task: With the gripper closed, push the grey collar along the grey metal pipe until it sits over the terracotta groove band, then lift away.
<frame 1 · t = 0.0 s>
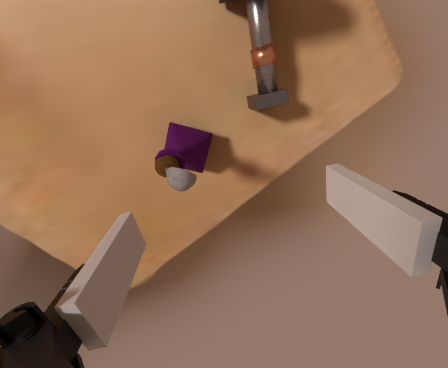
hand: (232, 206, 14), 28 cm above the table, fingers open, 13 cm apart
pipe stand: (252, 33, 34), on the table
perfume bottle: (188, 144, 40), on the table
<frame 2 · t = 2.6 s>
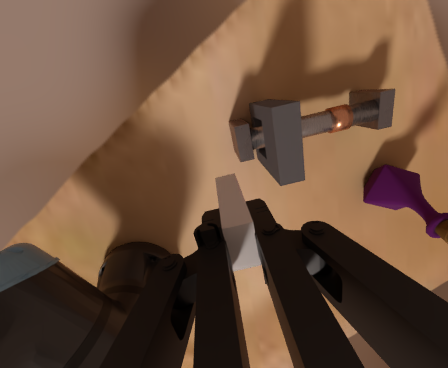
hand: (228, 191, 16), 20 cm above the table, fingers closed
pipe stand: (296, 121, 35), on the table
collar: (273, 137, 29), point 7 cm above the table, slide at 0.0 cm
perfume bottle: (376, 181, 41), on the table
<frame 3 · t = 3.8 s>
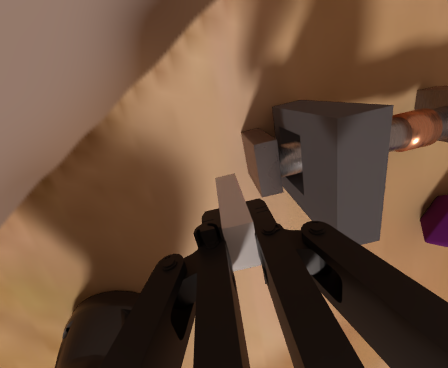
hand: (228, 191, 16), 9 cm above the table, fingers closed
pipe stand: (337, 131, 24), on the table
collar: (315, 160, 18), point 7 cm above the table, slide at 0.0 cm
perfume bottle: (438, 210, 30), on the table
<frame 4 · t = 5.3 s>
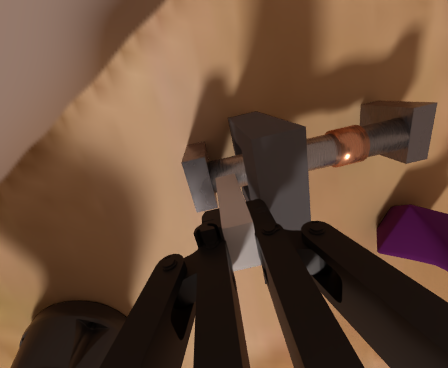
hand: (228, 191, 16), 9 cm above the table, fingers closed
pipe stand: (284, 144, 25), on the table
collar: (262, 173, 18), point 7 cm above the table, slide at 1.5 cm, touching gripper
perfume bottle: (394, 220, 31), on the table
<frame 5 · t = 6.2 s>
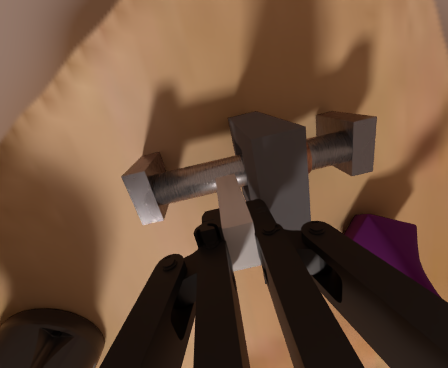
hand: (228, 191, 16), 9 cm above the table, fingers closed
pipe stand: (241, 154, 25), on the table
collar: (262, 173, 18), point 7 cm above the table, slide at 6.7 cm, touching gripper
perfume bottle: (359, 228, 31), on the table
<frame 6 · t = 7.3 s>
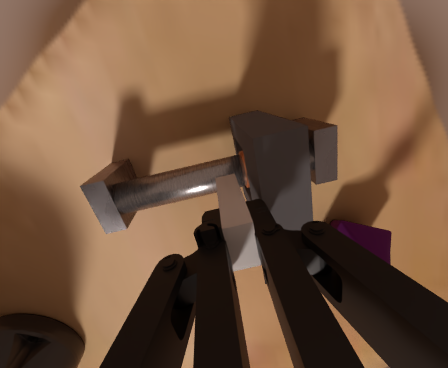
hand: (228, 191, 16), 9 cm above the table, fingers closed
pipe stand: (212, 161, 24), on the table
collar: (263, 172, 18), point 7 cm above the table, slide at 10.3 cm, touching gripper
perfume bottle: (337, 233, 31), on the table
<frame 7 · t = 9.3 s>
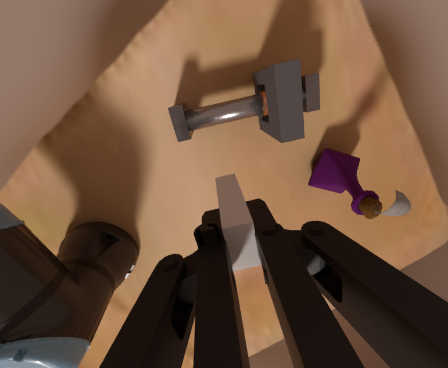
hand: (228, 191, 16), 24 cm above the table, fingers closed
pipe stand: (239, 106, 37), on the table
collar: (275, 102, 31), point 7 cm above the table, slide at 10.3 cm
perfume bottle: (324, 166, 43), on the table
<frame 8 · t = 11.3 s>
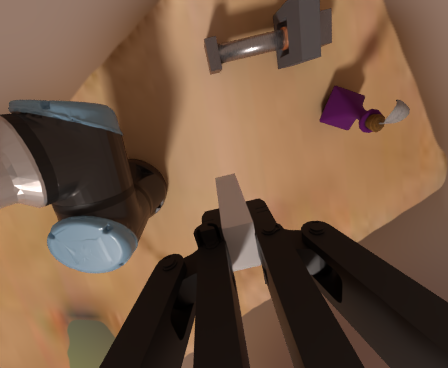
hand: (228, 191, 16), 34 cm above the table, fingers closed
pipe stand: (260, 48, 43), on the table
collar: (294, 34, 36), point 7 cm above the table, slide at 10.3 cm
perfume bottle: (333, 108, 49), on the table
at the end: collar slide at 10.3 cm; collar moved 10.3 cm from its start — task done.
